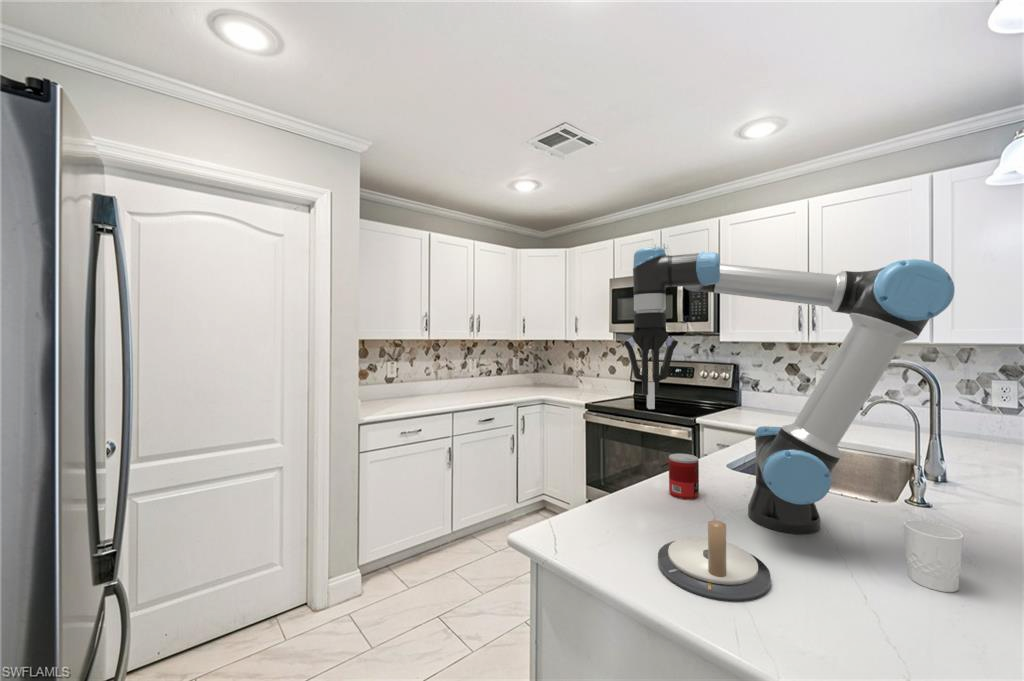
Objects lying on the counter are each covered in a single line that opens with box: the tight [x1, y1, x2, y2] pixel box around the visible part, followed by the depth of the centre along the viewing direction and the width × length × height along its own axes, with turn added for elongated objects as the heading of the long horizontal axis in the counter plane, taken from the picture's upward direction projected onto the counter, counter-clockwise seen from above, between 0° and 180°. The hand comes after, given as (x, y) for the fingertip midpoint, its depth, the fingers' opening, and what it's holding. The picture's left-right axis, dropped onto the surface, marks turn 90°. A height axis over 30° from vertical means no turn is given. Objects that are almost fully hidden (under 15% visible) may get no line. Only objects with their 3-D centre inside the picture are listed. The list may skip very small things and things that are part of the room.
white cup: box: [903, 519, 964, 593], centre depth 81 cm, size 8×8×10 cm
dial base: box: [657, 540, 772, 603], centre depth 86 cm, size 20×20×2 cm
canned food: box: [668, 453, 700, 500], centre depth 126 cm, size 8×8×11 cm
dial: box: [668, 519, 758, 585], centre depth 86 cm, size 16×16×10 cm
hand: (650, 407), depth 107 cm, fingers closed
